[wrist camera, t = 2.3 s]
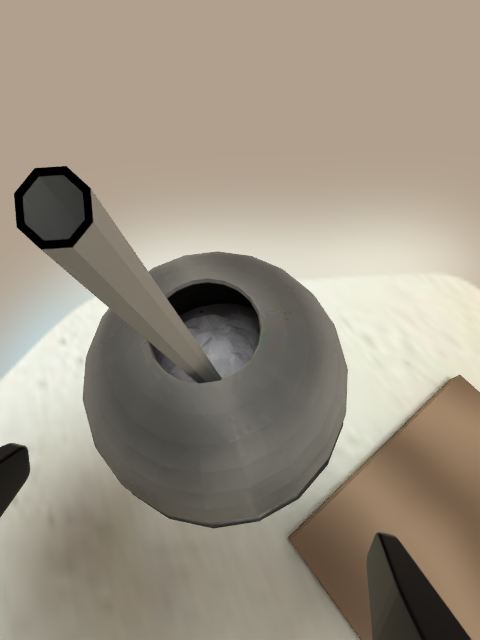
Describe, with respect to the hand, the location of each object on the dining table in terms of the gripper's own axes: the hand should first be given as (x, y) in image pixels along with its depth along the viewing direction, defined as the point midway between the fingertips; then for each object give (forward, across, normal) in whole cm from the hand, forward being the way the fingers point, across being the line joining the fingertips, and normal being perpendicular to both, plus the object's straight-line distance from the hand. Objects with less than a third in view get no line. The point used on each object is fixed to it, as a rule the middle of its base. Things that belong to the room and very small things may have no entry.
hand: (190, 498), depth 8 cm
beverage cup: (+10, 0, +6) cm, 12 cm away
